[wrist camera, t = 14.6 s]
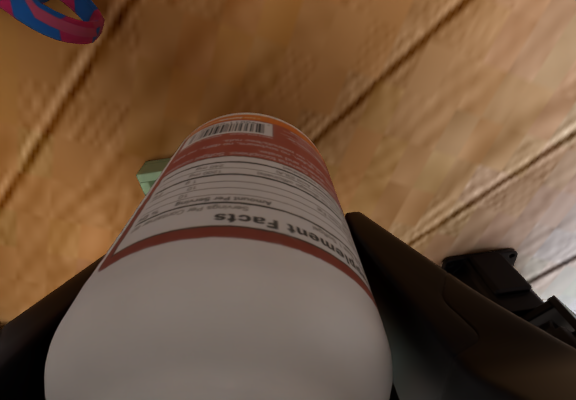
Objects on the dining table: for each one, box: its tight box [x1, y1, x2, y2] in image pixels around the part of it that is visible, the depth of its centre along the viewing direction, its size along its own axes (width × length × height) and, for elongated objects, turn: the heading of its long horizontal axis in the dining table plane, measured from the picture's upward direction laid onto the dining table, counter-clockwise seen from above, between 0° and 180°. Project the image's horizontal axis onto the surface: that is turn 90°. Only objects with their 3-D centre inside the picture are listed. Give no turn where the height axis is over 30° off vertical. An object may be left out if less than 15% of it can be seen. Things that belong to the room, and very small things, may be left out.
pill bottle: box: [44, 113, 393, 400], centre depth 8 cm, size 6×6×11 cm
